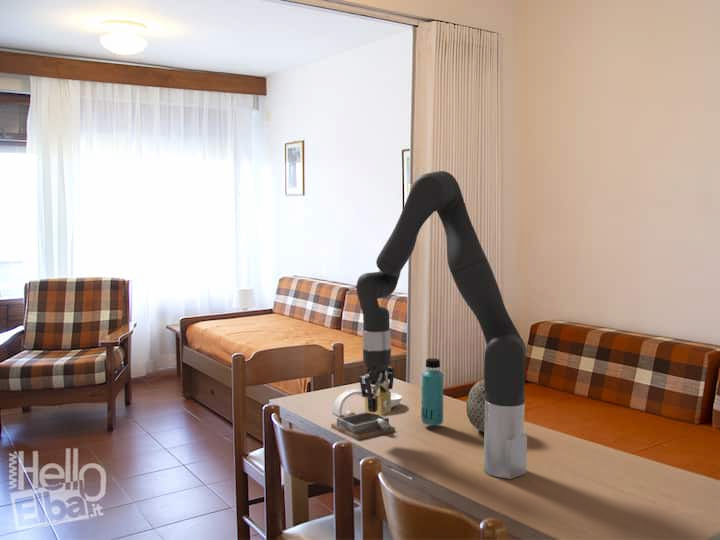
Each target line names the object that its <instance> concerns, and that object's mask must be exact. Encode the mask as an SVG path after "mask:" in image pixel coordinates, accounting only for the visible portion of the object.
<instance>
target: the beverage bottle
mask: <svg viewBox="0 0 720 540" xmlns="http://www.w3.org/2000/svg"><path fill="white" fill-rule="evenodd" d="M440 361H441V359H439V358H433V357H432V358H431V357H430V358H426V360H425V368H429V369H425V370H424V371H423V372H422V374H421V377H422V379H421V401H420V402H421V407H420V408H421V410H420V411H421V412H420V414H421V416H420V417H421V422H422V424H424V425H428V426H439V425H442V424H443V423H444V375H445V374H444V373H443V372H442V371H440V369H437V368H440V367H441V362H440Z"/></svg>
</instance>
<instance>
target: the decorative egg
mask: <svg viewBox="0 0 720 540" xmlns="http://www.w3.org/2000/svg"><path fill="white" fill-rule="evenodd" d="M465 409H466V415H467V418H468V420H469V422H470V423H471V425H472V426H473V427H474V428H475V429H477V430H478V431H480V432H482V433H484V424H485V389H484V379H481V380H479V381H478V382H476V383H475V384H474V385H473V386H472V388H471V389H470V391H469V393H468V396H467V399H466V406H465Z"/></svg>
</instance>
